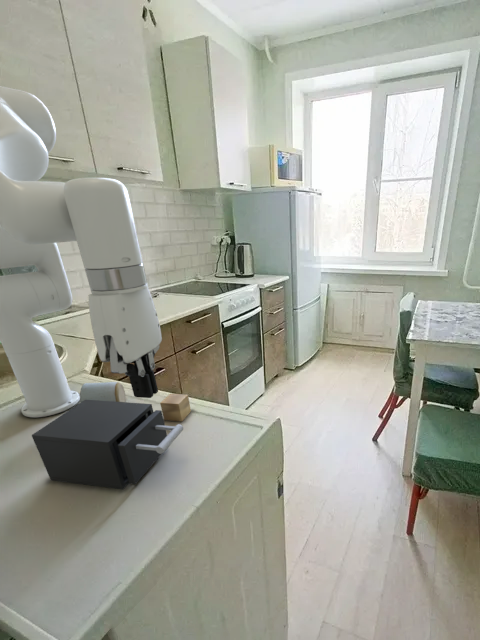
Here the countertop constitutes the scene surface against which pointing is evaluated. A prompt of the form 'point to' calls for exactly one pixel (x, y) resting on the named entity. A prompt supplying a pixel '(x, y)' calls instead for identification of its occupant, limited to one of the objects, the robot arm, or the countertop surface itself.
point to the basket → (143, 445)
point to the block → (175, 407)
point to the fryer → (88, 442)
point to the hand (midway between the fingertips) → (146, 394)
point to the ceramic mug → (103, 392)
